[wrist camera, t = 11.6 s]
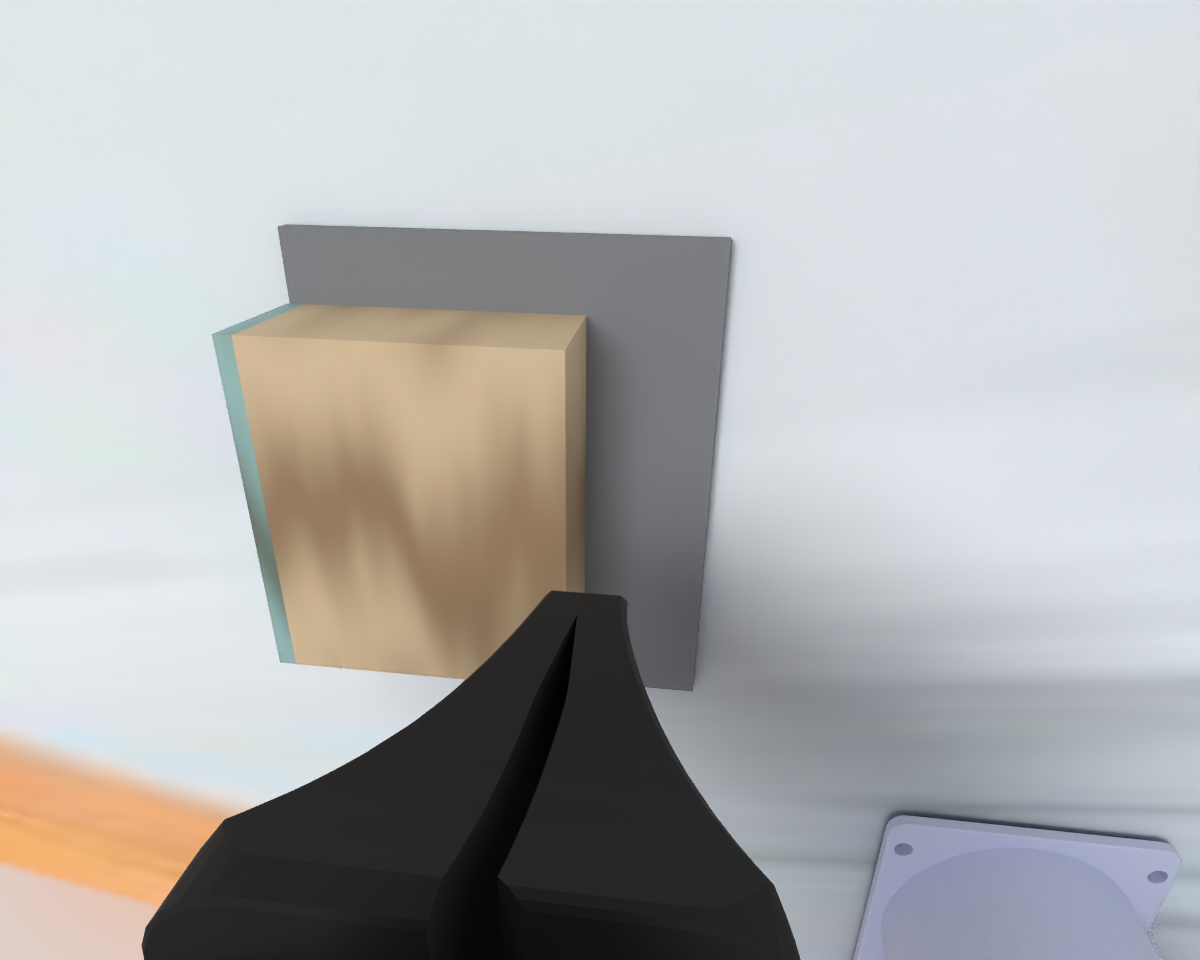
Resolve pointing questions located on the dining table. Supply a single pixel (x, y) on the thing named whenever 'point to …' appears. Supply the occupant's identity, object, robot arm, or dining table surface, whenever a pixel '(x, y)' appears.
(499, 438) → the slab
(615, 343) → the mat
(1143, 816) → the dining table surface
